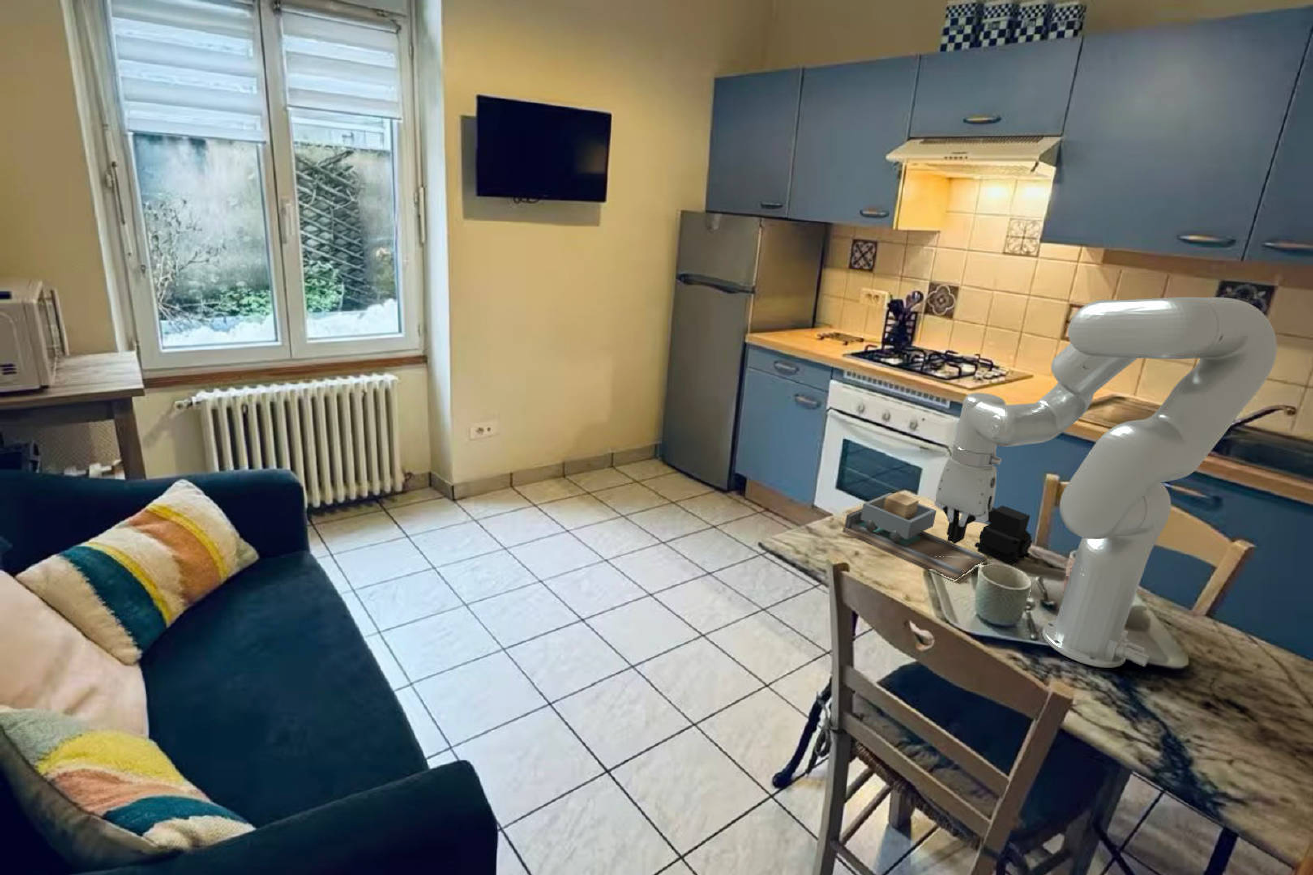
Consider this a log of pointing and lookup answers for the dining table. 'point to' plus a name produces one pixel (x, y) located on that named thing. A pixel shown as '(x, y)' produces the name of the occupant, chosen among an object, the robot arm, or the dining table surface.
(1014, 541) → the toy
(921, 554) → the track
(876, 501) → the cart
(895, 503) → the block
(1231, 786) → the dining table surface
